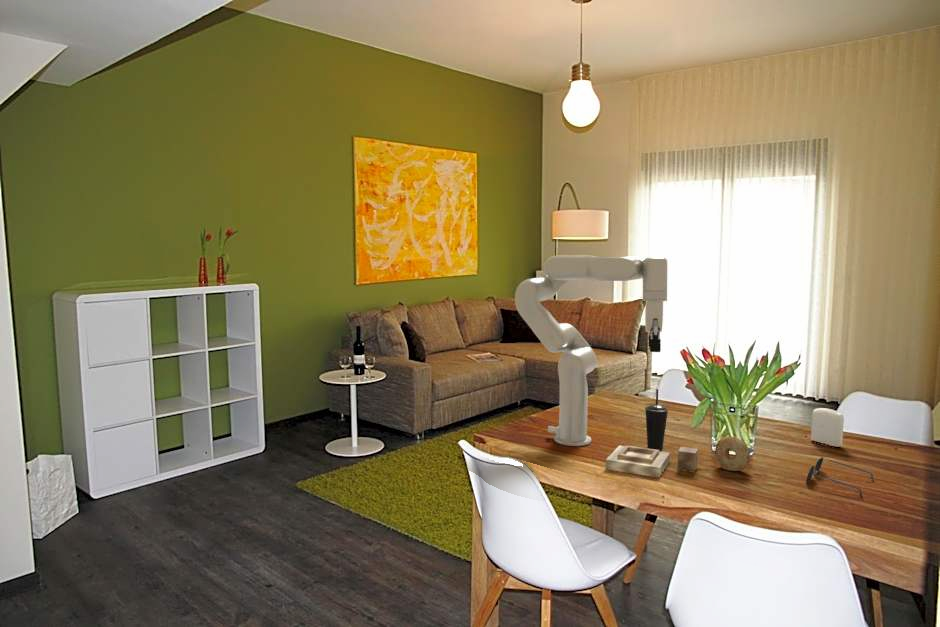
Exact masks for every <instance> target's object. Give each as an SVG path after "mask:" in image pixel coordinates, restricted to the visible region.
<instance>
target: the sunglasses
mask: <svg viewBox="0 0 940 627" xmlns="http://www.w3.org/2000/svg"><path fill="white" fill-rule="evenodd" d="M824 459H825V460H827V461H830V462H833V463H835V464H839V465H843V466H845V467H848V468H851V469H855V470H857V471H861V472H865V473H867V474H869V475H870V480H871V479H873V480H874V476H873V473H872V472H870V471H867V470H864V469H861V468H857V467H854V466H852V465H849V464H846V463H841V462H838V461H835V460H832V459H828V458H824V457H822V456H821V457H820V458H818V459H817V461H816V463H815V465H812V466H811V467H810V468H809V471H808V474H807V477H806V481H805V483H807V484H808V483H809V482H810V481H811V478H812V477H813V476H817V477H820V478H823V479H826V480H829V481H832V482H834V483H837V484H840V485H844V486H847V487H850V488H853V489H855V490H856V489H857V490H858V491H859V497H860V498H863V495H862V494H863V493H862V489H861V488H859V487H856V486H853V485H850V484H848V483H844V482H841V481H839V480H835V479H831V478H830V477H826V476H822V475H820V474H817V473H818V472H820V469H821V467H822V464H823V462H824V461H823V460H824ZM817 471H818V472H817ZM809 480H810V481H809ZM808 481H809V482H808Z"/></svg>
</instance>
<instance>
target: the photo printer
mask: <svg viewBox="0 0 940 627" xmlns="http://www.w3.org/2000/svg"><path fill="white" fill-rule="evenodd" d="M844 419H845V417H844V415H843V414H842V413H841V412H839V411H837V410H834V409H832V408H831V409H830V408H827V407H826V408H825V407H817V408H814V409H813V411H812V413H811V430H810V441H811V440H814V441H817V442H821V443H825V444H829V445H832V446H841V445H842V446H843V441H844V440H843V439H844V437H843V436H844V422H845V420H844Z"/></svg>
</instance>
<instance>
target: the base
mask: <svg viewBox="0 0 940 627" xmlns="http://www.w3.org/2000/svg"><path fill="white" fill-rule="evenodd" d="M670 460H671V453H670V452H667V451H662V450H655V449H648V447H641V446H633V445H627V444H626V445H618V446H617V447H616V448H615V449H614V451H613V452H611V454H609V455H608V457H607V458H606V459H605V470H610V471H613V472H614V471H615V472H620V473H627V474H628V473H629V474H633V475H634V474H635V475H639V476H646V477H647V476H648V477H652V478H658V477H659V478H660V477H661V476H662V474H663V473H664V471H665V470H666V468H667V467H668V466H669V464H670ZM668 463H669V464H668ZM666 466H667V467H666ZM664 469H665V470H664ZM662 472H663V473H662ZM660 475H661V476H660Z"/></svg>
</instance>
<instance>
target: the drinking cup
mask: <svg viewBox="0 0 940 627" xmlns="http://www.w3.org/2000/svg"><path fill="white" fill-rule="evenodd" d="M644 411H645V426H646V428H645V429H646V441H647V442H646V444H647V448H648V449H655V450H659V451H662V450H663V449H664V440H665V434H666V426H667V419H668V413H669V408H668V407H666V406H664V405H661V404H659V388H658V389H655V404H649V405H647V406H645V407H644Z"/></svg>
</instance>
